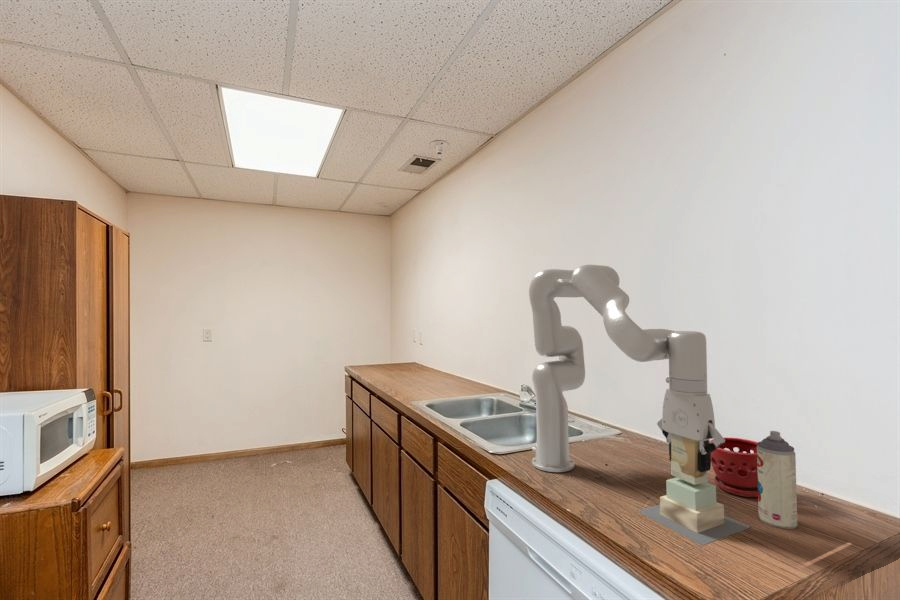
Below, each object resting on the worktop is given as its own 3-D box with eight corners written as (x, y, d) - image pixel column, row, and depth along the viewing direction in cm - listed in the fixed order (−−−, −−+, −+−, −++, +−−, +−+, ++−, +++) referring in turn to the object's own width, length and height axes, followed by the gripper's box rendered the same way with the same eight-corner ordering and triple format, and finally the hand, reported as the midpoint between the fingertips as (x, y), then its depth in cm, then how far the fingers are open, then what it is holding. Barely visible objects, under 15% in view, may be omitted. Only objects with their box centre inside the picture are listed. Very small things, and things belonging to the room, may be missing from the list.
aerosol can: (760, 512, 99) (757, 426, 99) (798, 521, 94) (795, 431, 95) (757, 523, 94) (754, 432, 94) (797, 534, 89) (794, 438, 89)
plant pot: (707, 477, 120) (706, 434, 120) (764, 485, 114) (763, 440, 114) (713, 495, 108) (711, 448, 108) (777, 505, 102) (775, 455, 102)
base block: (660, 514, 97) (659, 496, 98) (686, 506, 101) (685, 489, 101) (697, 532, 89) (696, 513, 89) (724, 523, 93) (723, 505, 93)
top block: (666, 497, 97) (666, 480, 97) (687, 491, 100) (686, 474, 100) (695, 510, 91) (695, 491, 91) (716, 504, 94) (715, 485, 94)
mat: (636, 512, 99) (636, 511, 99) (682, 499, 106) (682, 497, 106) (702, 547, 85) (702, 545, 85) (751, 528, 91) (750, 527, 91)
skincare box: (670, 475, 98) (669, 422, 98) (683, 472, 99) (682, 420, 100) (696, 486, 92) (695, 429, 92) (709, 482, 93) (708, 426, 94)
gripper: (644, 381, 102) (645, 456, 102) (715, 394, 87) (716, 482, 86) (665, 378, 105) (666, 451, 105) (737, 390, 90) (739, 476, 89)
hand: (689, 464), depth 96 cm, fingers closed on skincare box, 6 cm apart
